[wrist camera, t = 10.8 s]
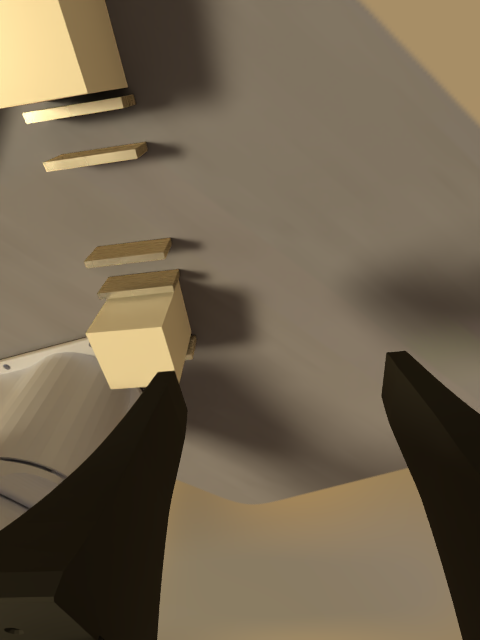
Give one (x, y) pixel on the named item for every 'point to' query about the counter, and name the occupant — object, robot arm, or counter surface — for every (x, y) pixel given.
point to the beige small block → (140, 338)
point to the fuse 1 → (56, 51)
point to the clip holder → (125, 251)
